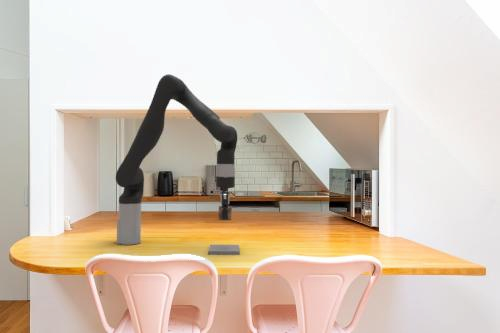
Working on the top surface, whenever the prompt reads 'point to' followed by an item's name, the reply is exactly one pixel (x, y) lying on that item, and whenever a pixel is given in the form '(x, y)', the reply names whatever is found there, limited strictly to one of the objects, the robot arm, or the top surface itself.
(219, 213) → the walnut cube
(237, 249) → the plate
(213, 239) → the top surface
